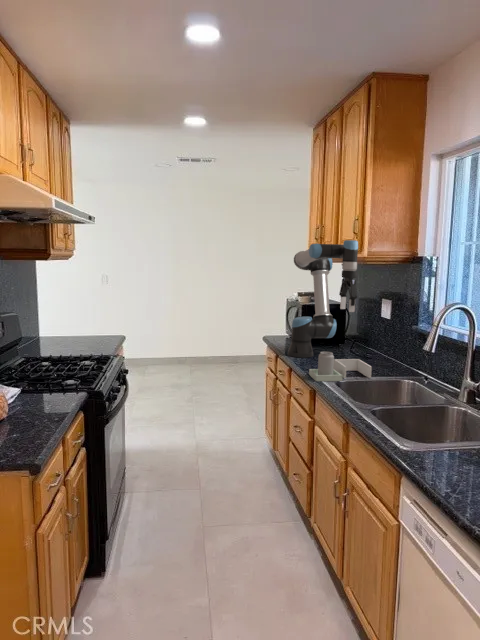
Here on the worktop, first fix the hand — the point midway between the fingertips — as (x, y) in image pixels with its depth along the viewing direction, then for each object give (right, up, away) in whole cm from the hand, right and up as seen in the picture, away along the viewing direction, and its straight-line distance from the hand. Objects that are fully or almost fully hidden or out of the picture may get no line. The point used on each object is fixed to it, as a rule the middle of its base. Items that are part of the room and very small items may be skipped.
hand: (347, 310), depth 251 cm
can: (-14, -33, -15) cm, 39 cm away
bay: (+1, -33, -8) cm, 34 cm away
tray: (-14, -34, -15) cm, 40 cm away
